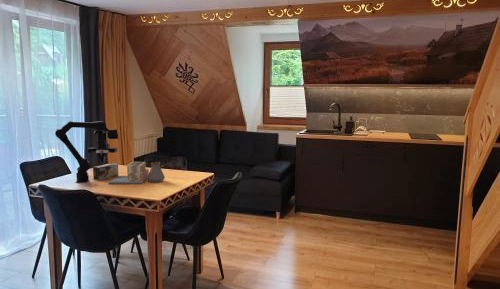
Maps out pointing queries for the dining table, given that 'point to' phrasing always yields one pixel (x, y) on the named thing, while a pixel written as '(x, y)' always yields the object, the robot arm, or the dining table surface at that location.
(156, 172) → the coffee pot
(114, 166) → the coffee box
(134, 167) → the box
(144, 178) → the grey tray
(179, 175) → the dining table surface
